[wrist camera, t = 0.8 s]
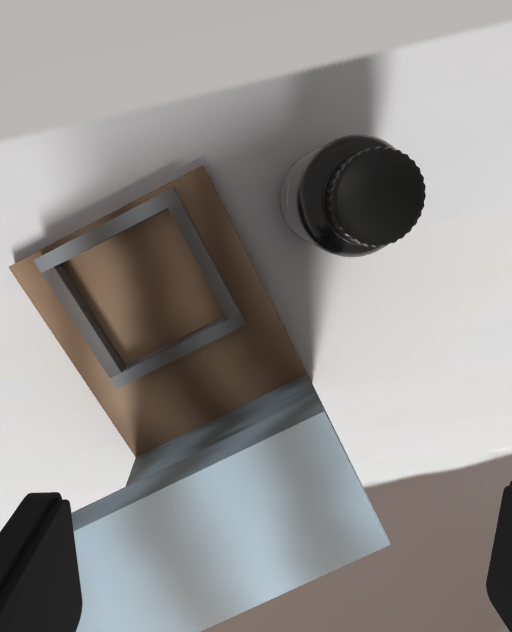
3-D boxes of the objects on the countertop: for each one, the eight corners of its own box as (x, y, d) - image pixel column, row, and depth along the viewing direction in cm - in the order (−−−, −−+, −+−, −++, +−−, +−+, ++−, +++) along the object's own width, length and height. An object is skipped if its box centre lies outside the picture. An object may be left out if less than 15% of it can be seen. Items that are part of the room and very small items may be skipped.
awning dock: (204, 166, 31) (178, 119, 14) (312, 384, 36) (390, 544, 19) (15, 265, 31) (-229, 334, 15) (147, 464, 37) (80, 686, 20)
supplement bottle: (259, 198, 32) (279, 194, 20) (326, 130, 31) (387, 85, 19) (320, 262, 33) (371, 293, 22) (385, 199, 32) (474, 196, 21)
